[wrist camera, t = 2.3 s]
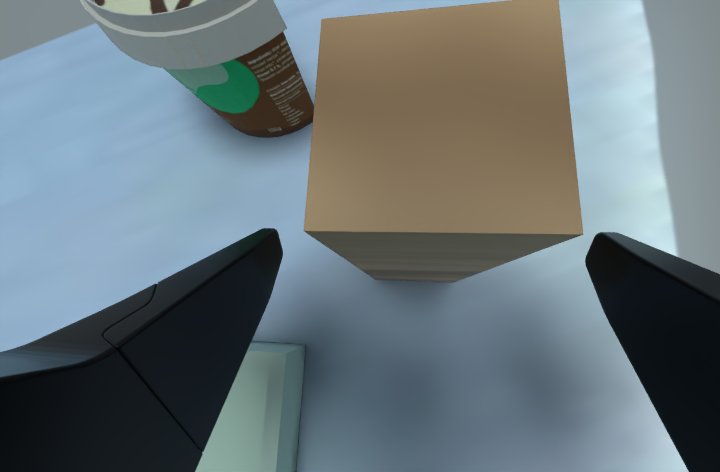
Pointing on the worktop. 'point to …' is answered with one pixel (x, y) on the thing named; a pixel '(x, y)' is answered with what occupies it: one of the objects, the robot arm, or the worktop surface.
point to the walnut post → (442, 140)
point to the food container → (216, 56)
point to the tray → (260, 413)
